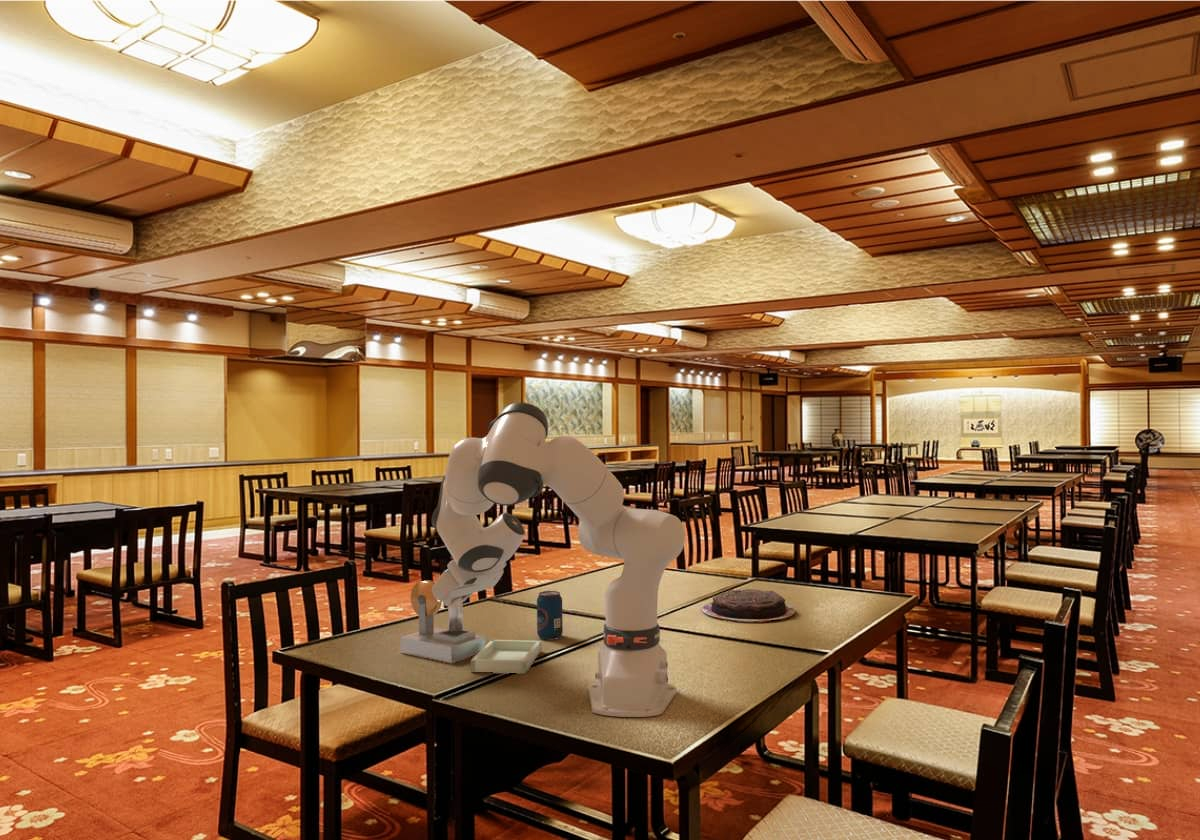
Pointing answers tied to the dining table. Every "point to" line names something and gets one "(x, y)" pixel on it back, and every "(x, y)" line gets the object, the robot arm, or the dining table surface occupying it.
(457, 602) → the dome-capped glass cylinder
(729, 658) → the dining table surface
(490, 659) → the tray
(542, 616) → the soda can
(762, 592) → the chocolate cake
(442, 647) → the block
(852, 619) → the dining table surface
